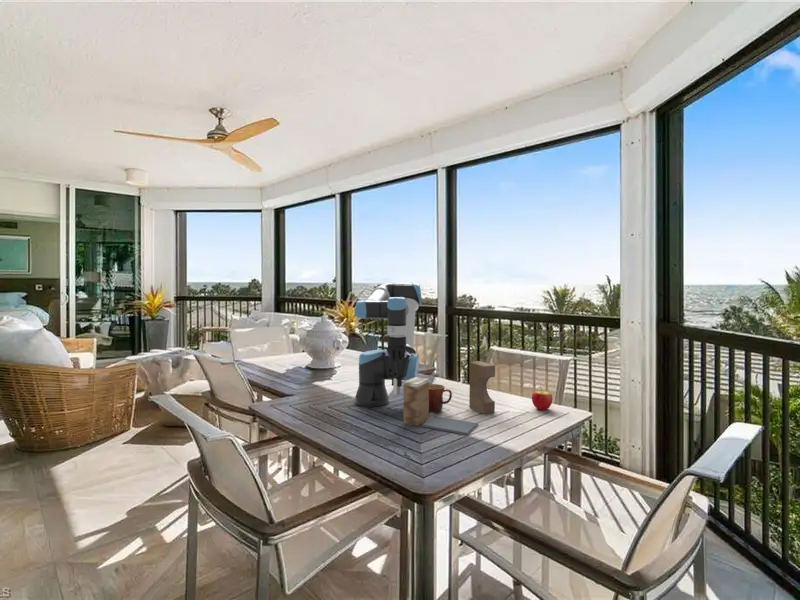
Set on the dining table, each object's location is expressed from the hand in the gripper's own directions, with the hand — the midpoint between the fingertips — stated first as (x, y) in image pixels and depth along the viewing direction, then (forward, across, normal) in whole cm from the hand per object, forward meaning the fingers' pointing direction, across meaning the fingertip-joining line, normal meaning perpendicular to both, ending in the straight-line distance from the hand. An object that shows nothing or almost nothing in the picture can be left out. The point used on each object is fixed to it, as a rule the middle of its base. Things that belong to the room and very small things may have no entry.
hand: (396, 394), depth 178 cm
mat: (+10, +23, +1) cm, 25 cm away
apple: (+10, +49, +40) cm, 64 cm away
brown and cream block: (+10, +9, 0) cm, 13 cm away
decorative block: (+10, +27, +26) cm, 39 cm away
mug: (+10, +11, +16) cm, 22 cm away
